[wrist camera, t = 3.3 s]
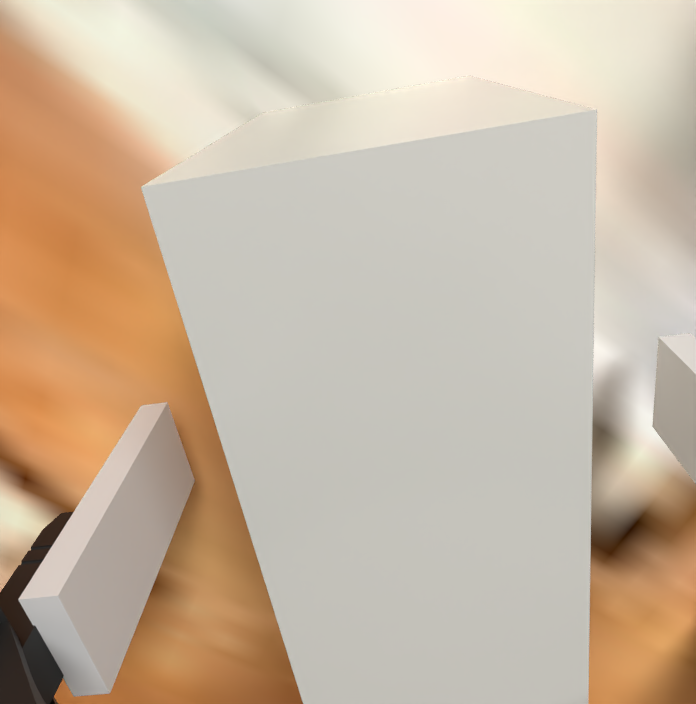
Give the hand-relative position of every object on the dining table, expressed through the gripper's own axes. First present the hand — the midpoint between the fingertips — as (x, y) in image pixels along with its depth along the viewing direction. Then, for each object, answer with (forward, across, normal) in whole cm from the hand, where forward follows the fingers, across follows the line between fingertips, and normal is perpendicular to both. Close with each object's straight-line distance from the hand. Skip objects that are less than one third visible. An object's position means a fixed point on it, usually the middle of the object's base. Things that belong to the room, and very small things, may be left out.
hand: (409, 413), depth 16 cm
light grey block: (+2, 0, 0) cm, 2 cm away
